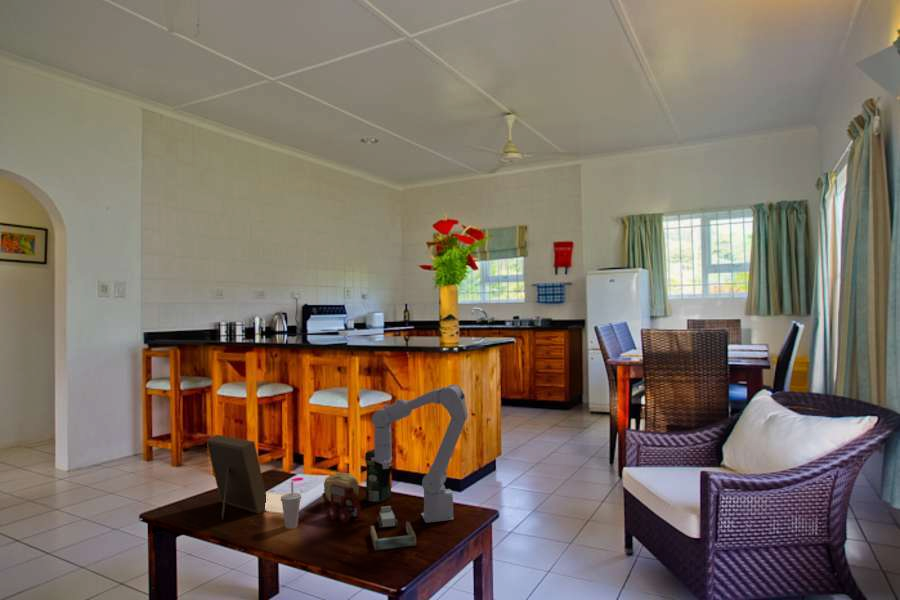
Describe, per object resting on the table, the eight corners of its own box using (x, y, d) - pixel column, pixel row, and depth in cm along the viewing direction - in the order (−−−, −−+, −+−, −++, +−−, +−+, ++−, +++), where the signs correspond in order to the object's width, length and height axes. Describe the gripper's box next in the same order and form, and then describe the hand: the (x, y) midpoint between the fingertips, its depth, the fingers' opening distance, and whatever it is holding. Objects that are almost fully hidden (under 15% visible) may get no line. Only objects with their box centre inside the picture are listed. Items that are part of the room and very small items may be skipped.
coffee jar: (376, 493, 201) (376, 444, 201) (394, 496, 197) (393, 446, 198) (361, 501, 192) (361, 450, 193) (380, 504, 189) (379, 452, 189)
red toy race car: (351, 524, 171) (351, 492, 171) (323, 517, 177) (323, 486, 178) (365, 517, 177) (365, 486, 177) (338, 511, 183) (337, 480, 183)
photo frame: (231, 498, 197) (230, 431, 198) (268, 509, 185) (267, 438, 186) (193, 511, 185) (192, 440, 185) (230, 524, 173) (229, 447, 173)
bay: (409, 529, 166) (409, 521, 166) (416, 545, 154) (416, 536, 154) (370, 534, 163) (370, 525, 163) (374, 550, 151) (374, 541, 151)
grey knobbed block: (394, 519, 174) (394, 505, 175) (397, 527, 168) (397, 512, 168) (377, 521, 173) (377, 507, 173) (379, 529, 166) (379, 514, 167)
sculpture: (319, 507, 187) (319, 476, 188) (336, 496, 199) (336, 467, 199) (348, 510, 184) (348, 478, 184) (364, 498, 195) (363, 469, 196)
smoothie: (305, 524, 171) (305, 480, 172) (292, 531, 166) (291, 486, 166) (290, 521, 174) (290, 478, 175) (276, 528, 168) (276, 484, 169)
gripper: (369, 440, 186) (369, 479, 186) (373, 450, 172) (373, 492, 171) (389, 439, 188) (389, 477, 187) (395, 448, 174) (395, 490, 173)
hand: (383, 484), depth 179 cm, fingers open, 4 cm apart
